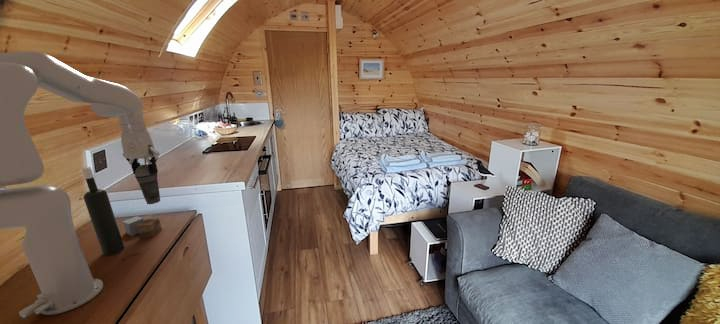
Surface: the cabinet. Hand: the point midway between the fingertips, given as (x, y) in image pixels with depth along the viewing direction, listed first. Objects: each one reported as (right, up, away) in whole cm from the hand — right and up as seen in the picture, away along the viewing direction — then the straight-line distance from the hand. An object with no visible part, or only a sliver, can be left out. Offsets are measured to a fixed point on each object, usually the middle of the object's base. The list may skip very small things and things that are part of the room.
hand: (145, 172), depth 115 cm
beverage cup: (+1, -12, +3) cm, 12 cm away
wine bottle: (-1, -26, -14) cm, 30 cm away
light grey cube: (-3, -23, -1) cm, 23 cm away
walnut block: (+4, -23, -3) cm, 24 cm away
